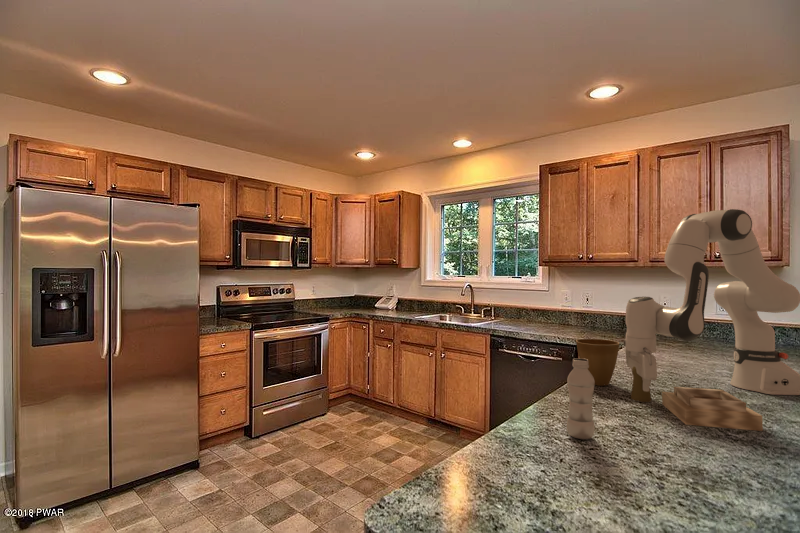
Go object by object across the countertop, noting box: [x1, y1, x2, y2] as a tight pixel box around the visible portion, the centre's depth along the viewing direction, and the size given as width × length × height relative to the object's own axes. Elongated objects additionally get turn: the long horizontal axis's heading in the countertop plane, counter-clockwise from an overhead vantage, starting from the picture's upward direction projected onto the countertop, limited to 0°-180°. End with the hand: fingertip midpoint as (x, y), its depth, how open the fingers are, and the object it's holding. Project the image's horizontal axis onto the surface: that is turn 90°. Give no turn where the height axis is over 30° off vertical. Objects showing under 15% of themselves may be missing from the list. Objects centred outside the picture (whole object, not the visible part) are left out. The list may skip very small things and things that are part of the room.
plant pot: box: [575, 338, 620, 387], centre depth 156 cm, size 15×15×16 cm
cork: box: [630, 366, 652, 403], centre depth 137 cm, size 6×6×11 cm
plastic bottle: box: [566, 357, 596, 440], centre depth 106 cm, size 6×7×20 cm
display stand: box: [661, 386, 764, 432], centre depth 121 cm, size 18×18×6 cm
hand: (640, 386), depth 137 cm, fingers open, 8 cm apart
